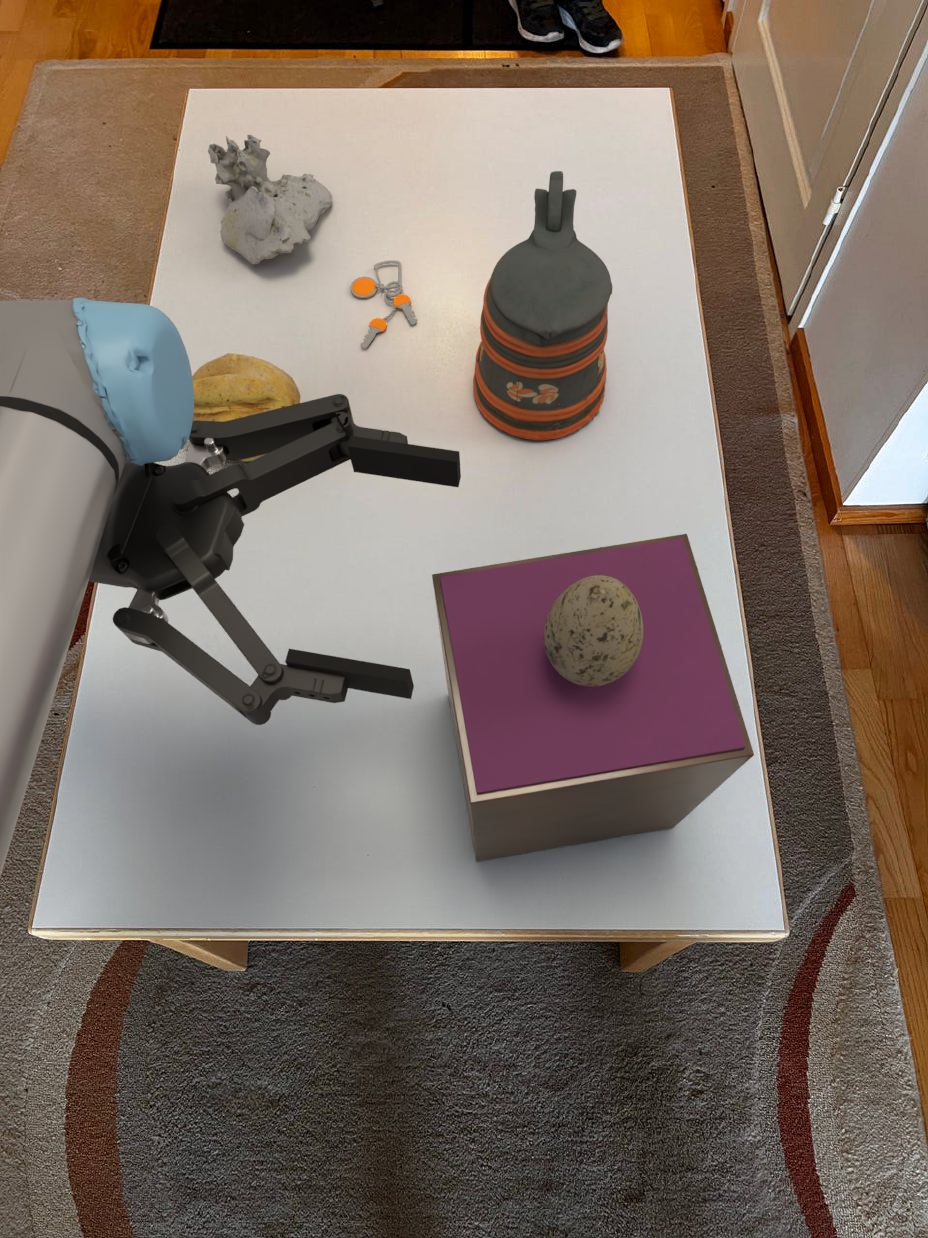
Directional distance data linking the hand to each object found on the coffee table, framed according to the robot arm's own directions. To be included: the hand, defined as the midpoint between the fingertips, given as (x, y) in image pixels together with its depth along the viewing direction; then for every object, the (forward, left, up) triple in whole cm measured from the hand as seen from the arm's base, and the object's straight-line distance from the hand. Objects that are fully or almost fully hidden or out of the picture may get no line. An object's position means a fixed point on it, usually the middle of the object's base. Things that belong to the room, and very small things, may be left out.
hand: (436, 571), depth 49 cm
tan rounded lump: (-17, +39, -36) cm, 56 cm away
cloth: (+9, -3, -10) cm, 14 cm away
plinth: (+9, -3, -36) cm, 37 cm away
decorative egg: (+9, -3, -10) cm, 14 cm away
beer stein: (+16, +41, -36) cm, 57 cm away
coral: (-12, +69, -36) cm, 79 cm away
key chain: (0, +54, -36) cm, 65 cm away
